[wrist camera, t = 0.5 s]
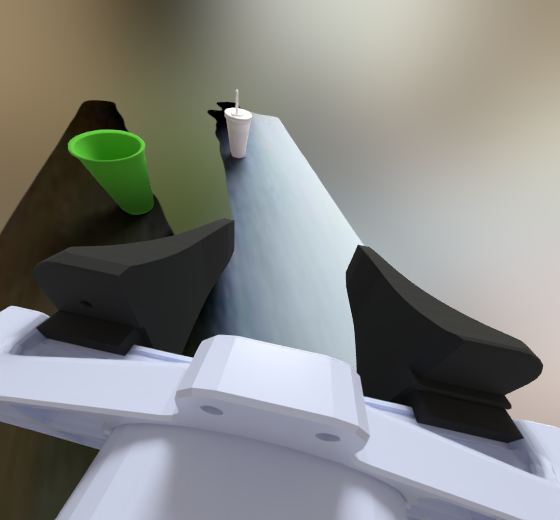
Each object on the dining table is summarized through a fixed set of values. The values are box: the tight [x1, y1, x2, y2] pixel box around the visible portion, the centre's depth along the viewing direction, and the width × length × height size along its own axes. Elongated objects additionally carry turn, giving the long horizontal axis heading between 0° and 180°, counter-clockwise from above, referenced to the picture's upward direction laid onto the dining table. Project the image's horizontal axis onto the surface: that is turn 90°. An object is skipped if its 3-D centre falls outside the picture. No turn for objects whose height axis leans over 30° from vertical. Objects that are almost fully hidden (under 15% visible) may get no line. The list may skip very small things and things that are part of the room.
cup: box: [68, 130, 154, 215], centre depth 32 cm, size 9×9×11 cm
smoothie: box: [225, 90, 252, 158], centre depth 48 cm, size 6×6×14 cm
